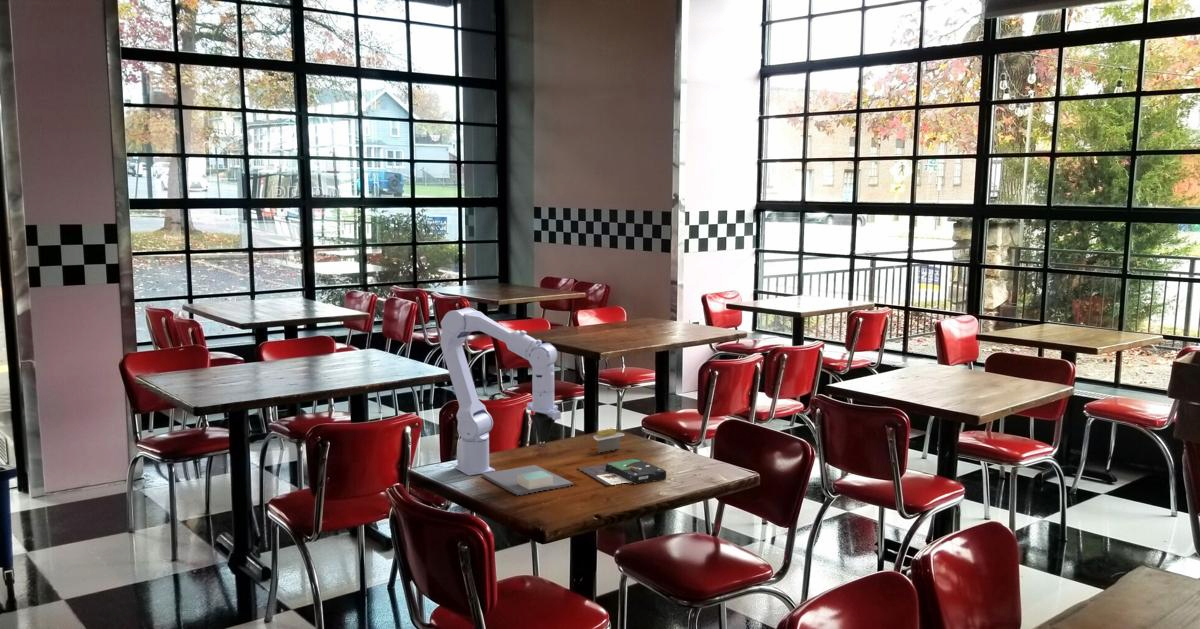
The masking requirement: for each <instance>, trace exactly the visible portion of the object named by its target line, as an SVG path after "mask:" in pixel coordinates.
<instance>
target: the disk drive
mask: <svg viewBox="0 0 1200 629" xmlns="http://www.w3.org/2000/svg"><path fill="white" fill-rule="evenodd" d="M606 464H607V465H606V470H608V471H610V472H612V473H614V474H616V475H618V476H621V477H623V478H625V479H627V480H629V481H631V482H633V483H638V484H640V483H639V482H645V481H651V482H654V481H653V480H657V481H661V480H666V479H667V470H665V469H664V468H660V467H659V466H657V465H654V464H651V463H650V462H648V461H644V460H642V459H639V458H637V457H635V458H628V459H621V460H618V461H612V462H607V463H606ZM645 483H646V482H645Z"/></svg>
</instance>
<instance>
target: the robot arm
mask: <svg viewBox="0 0 1200 629" xmlns="http://www.w3.org/2000/svg"><path fill="white" fill-rule="evenodd" d="M440 326H441V335H440V343H439V344H440V348H441V351H442V354H443V358H444V360H445V363H446V366H447V370H448V374H449V377H450V381H451V384H452V386H453V390H454V394H455V396H456V399H457V402H458V403H457V404H458V410H457V412H456V420H457V428H456V429H457V433H458V435H459V436H460V438H459V439H458V442H457V445H456V446H457V447H456V454H457V455H456V457H457V459H456V460H457V465H454V469H456V470H458V471H459V472H461V473H463V474H465V475H467V476H475V475H481V474H483V473H489V472H495V471H496V469H495V468H493V467H491V466H490V432H491V430H492V429H493V426H494V420H493V417H492V415H491V414H490V413H489V412H488V411H487V407H486V405H485V404H484V403H482V401H480V399H479V396H478V393H477V390H476V387H475V383H474V381H473V377H472V374H471V371H470V367H469V364H468V360H467V357H466V354H465V350H464V347H463V345H464V343H465V340H466V339H467V338H468V337H469V335H470V334H471V333H473V332H482V333H484V334H486V335H488V336H490V337H492V338H494V339H497V340H499V341H500V342H503V343H505V345H506V347H507V350H508V351H510V352H512V353H515V354H516V355H518V356H520V357H522V358H523V359H525V360H526V361H528V362H529V365H530V366H531V368H532V376H531V377H532V378H531V379H532V382H531V383H532V395H531V396H532V397H531V398H532V401H530V402H526V410H527V411H532V412H534V414H531V415H530V419H531V421H532V423H533V425H534V428H535V431H536V434H537V439H538V442H540V443H547V442H549V439H550V435H551V431H552V428H553V425H554V423H555V422H556V420H561V418H562V414H561V413H562V412H561V411H560V410H558V409H559V406H558V404H557V405H556V404H555V363H556V361H557V360H558V354H559V353H558V349H557V348H556V347H555V346H554V345H553V344H552V343H550V342H544V343H543V341H542V340H541V339H535V338H534V337H532V336H530V335H528V334H527V333H528V332H527V331H526V330H524V329H523V330H519V329H517V330H515V331H511V330H510V329H509V328H506V327H505V326H503V325H501V324H500V323H498V322H497V321H494V320H493V319H492V318H490V317H488V316H487V315H485V314H484V313H483V312H482V311H480V310H479V311H478V310H476V309H475V308H473V307H464V308H461V309H457V310H448V312H446V313H445V314H444V316H443V318H442V320H441V321H440Z"/></svg>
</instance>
